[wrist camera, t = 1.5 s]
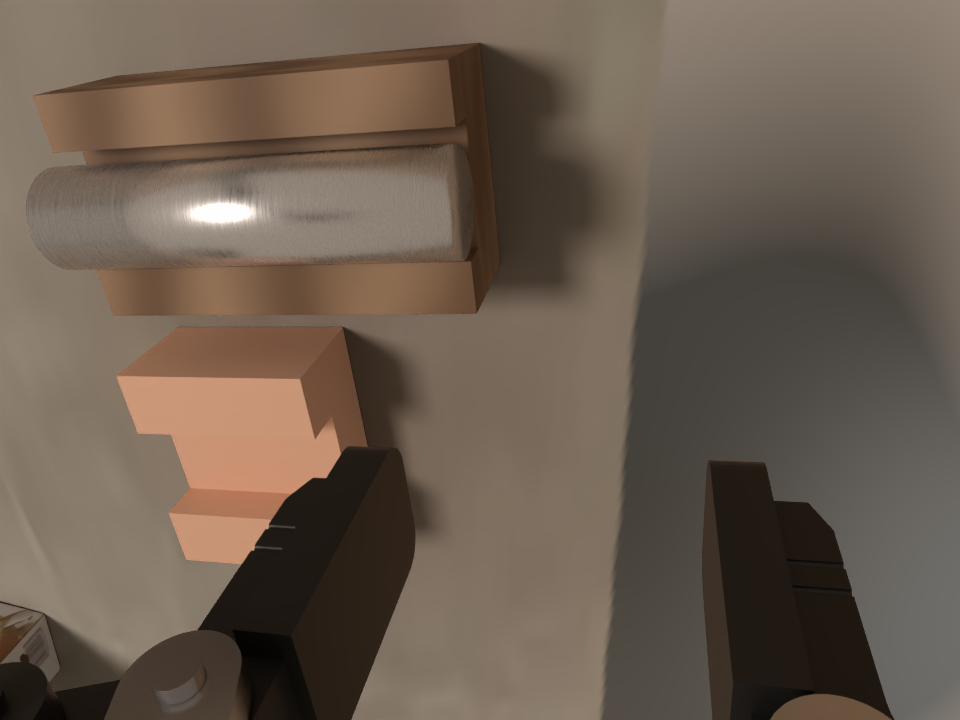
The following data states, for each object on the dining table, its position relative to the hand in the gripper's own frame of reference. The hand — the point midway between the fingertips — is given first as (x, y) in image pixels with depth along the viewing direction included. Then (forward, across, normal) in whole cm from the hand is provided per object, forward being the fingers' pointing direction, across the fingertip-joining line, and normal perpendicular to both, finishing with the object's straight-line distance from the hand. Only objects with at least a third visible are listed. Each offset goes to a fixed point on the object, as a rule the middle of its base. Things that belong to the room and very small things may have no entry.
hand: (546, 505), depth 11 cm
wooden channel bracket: (+21, +13, 0) cm, 25 cm away
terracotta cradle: (+21, +18, +13) cm, 30 cm away
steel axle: (+18, +13, 0) cm, 22 cm away
